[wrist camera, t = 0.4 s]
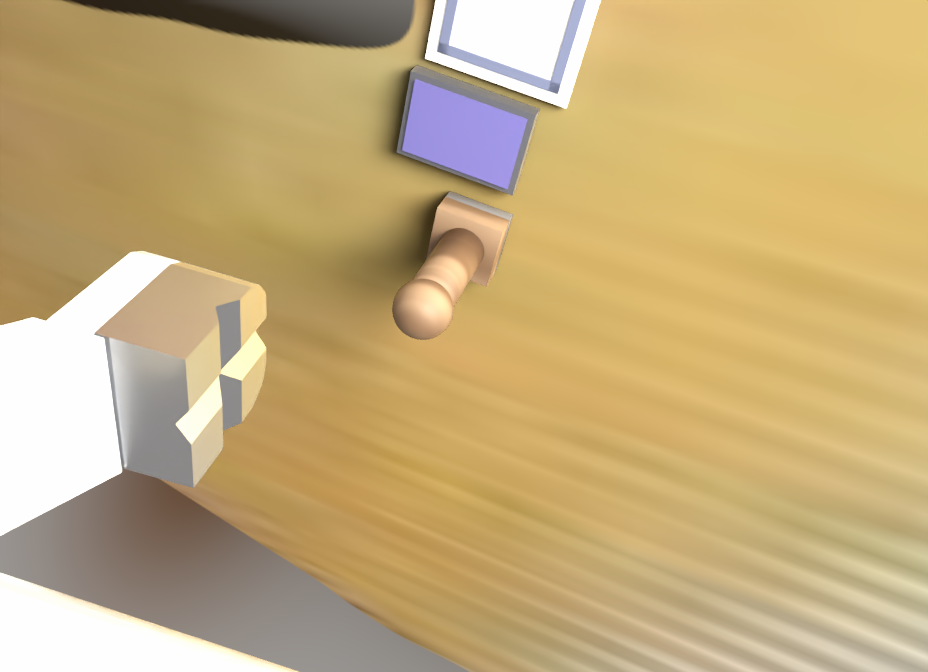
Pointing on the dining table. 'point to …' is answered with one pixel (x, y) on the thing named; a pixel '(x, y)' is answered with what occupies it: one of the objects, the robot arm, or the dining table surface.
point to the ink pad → (466, 129)
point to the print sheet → (515, 42)
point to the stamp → (451, 264)
